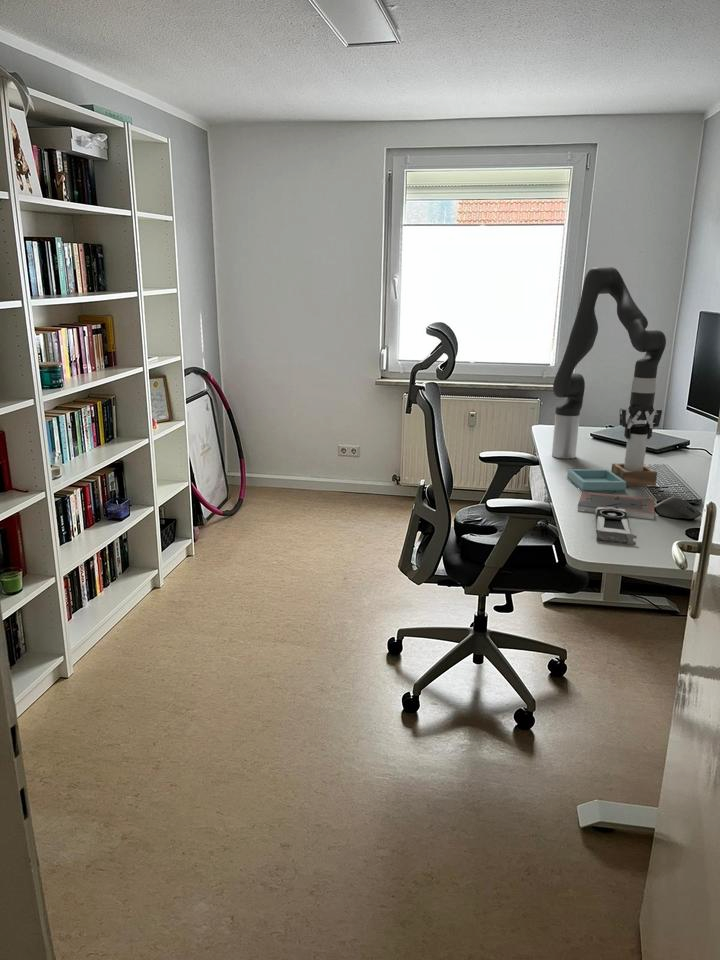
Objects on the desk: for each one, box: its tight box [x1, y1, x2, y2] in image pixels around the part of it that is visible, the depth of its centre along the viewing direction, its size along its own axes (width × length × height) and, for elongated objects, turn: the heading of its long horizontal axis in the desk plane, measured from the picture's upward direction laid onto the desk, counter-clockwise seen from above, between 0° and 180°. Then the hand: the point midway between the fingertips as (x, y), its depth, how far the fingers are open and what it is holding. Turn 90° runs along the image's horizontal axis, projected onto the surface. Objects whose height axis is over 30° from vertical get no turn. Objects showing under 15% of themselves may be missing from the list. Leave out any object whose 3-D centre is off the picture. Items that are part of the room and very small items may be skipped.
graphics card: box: [594, 507, 638, 545], centre depth 192 cm, size 10×3×25 cm
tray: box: [566, 469, 627, 493], centre depth 234 cm, size 16×14×4 cm
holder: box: [610, 462, 658, 487], centre depth 239 cm, size 12×11×5 cm
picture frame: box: [577, 491, 655, 520], centre depth 211 cm, size 16×2×22 cm
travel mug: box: [624, 423, 650, 471], centre depth 237 cm, size 6×7×20 cm
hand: (637, 438), depth 235 cm, fingers closed on travel mug, 6 cm apart
